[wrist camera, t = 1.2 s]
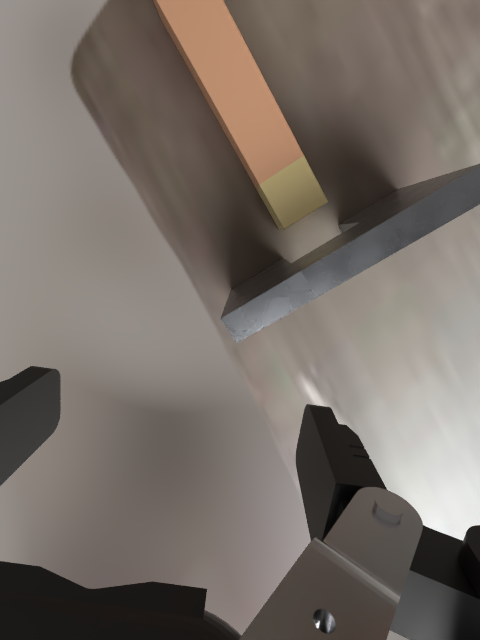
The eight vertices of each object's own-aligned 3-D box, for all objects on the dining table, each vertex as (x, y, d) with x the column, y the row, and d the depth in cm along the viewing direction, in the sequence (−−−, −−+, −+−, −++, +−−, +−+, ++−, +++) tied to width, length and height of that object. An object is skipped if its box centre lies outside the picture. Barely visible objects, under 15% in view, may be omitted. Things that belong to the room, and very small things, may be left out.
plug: (201, -11, 28) (190, -63, 23) (316, 207, 31) (328, 202, 27) (161, 20, 28) (142, -24, 23) (279, 230, 32) (284, 229, 27)
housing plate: (396, 189, 31) (485, 162, 19) (406, 209, 31) (498, 193, 20) (231, 289, 34) (220, 318, 22) (241, 306, 34) (236, 343, 22)
